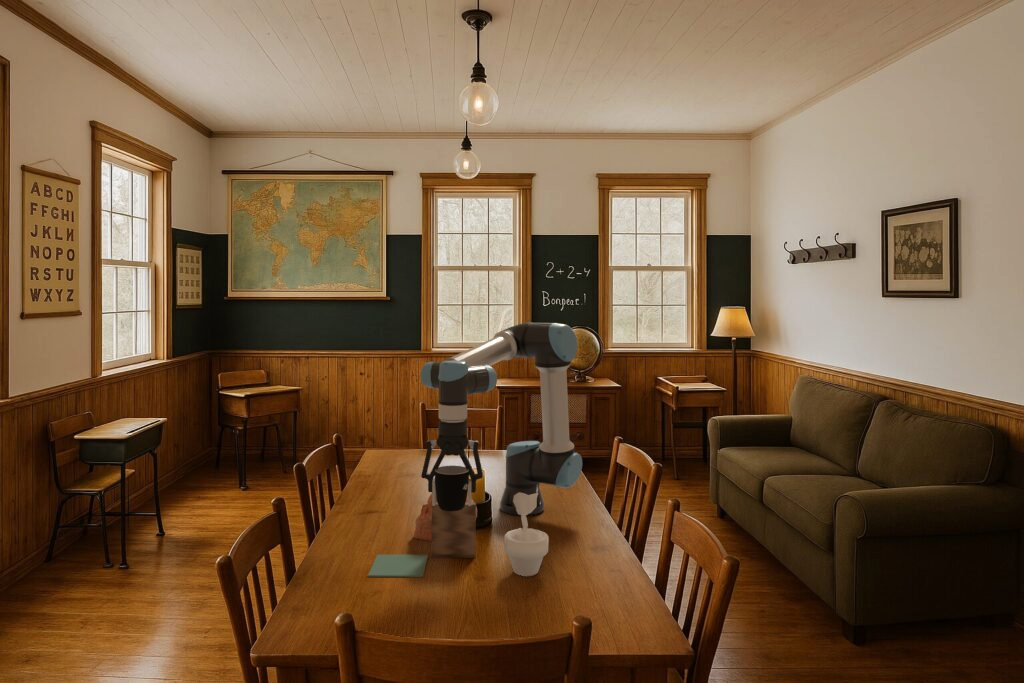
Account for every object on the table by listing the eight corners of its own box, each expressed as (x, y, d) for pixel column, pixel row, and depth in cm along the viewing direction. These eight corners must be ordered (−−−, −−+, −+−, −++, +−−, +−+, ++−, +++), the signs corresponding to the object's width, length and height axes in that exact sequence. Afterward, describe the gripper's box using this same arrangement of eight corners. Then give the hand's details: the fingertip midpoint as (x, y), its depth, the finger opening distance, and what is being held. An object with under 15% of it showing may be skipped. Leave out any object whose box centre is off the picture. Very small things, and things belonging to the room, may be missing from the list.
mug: (467, 513, 170) (467, 474, 170) (432, 512, 171) (432, 473, 170) (471, 499, 182) (471, 463, 182) (438, 498, 183) (438, 462, 182)
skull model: (430, 524, 212) (430, 477, 211) (484, 533, 205) (485, 484, 204) (405, 540, 197) (406, 489, 197) (463, 550, 191) (463, 497, 190)
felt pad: (428, 556, 185) (428, 554, 185) (422, 577, 171) (422, 575, 171) (377, 555, 185) (377, 554, 185) (368, 576, 171) (368, 575, 171)
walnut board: (475, 551, 190) (476, 499, 189) (474, 558, 185) (475, 504, 184) (433, 550, 189) (433, 498, 188) (431, 557, 184) (432, 504, 183)
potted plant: (534, 585, 168) (536, 487, 166) (495, 574, 174) (497, 480, 172) (557, 568, 178) (559, 476, 177) (520, 559, 184) (522, 470, 183)
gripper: (493, 417, 179) (492, 500, 181) (413, 416, 178) (412, 499, 180) (493, 422, 172) (492, 508, 173) (410, 421, 171) (409, 508, 172)
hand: (451, 504), depth 176 cm, fingers closed on mug, 9 cm apart
